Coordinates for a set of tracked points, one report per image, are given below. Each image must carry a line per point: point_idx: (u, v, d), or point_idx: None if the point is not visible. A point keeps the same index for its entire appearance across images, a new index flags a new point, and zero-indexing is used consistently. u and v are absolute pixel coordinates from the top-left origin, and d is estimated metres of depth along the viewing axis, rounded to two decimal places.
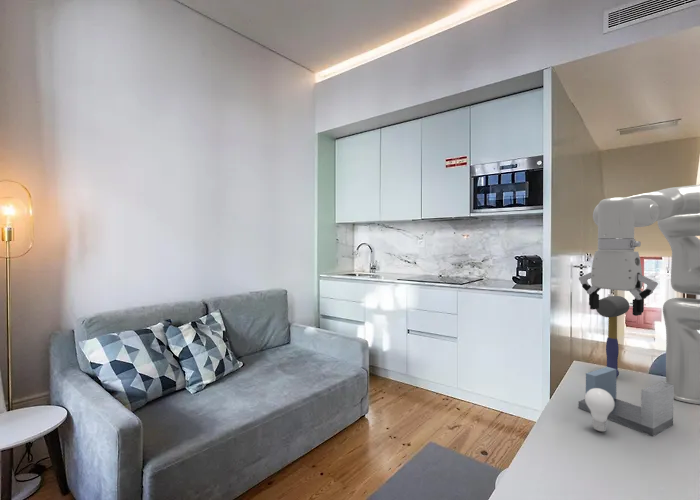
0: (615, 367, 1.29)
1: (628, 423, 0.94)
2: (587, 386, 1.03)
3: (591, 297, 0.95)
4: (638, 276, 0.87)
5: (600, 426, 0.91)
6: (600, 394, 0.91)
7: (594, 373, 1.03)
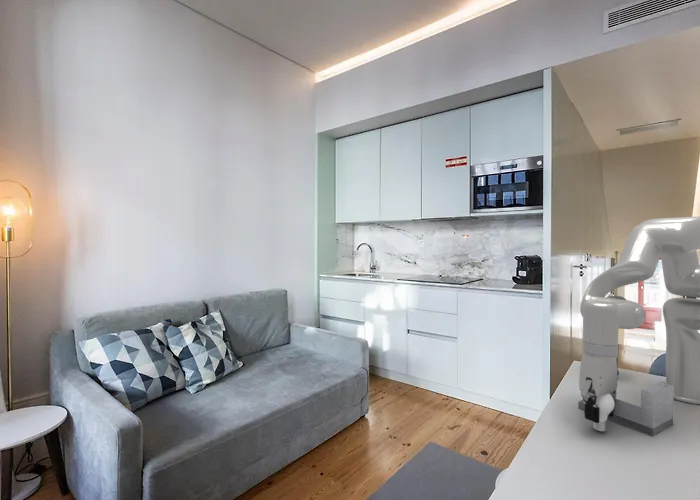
0: None
1: (628, 423, 0.94)
2: None
3: (598, 410, 0.89)
4: None
5: (600, 426, 0.91)
6: None
7: None
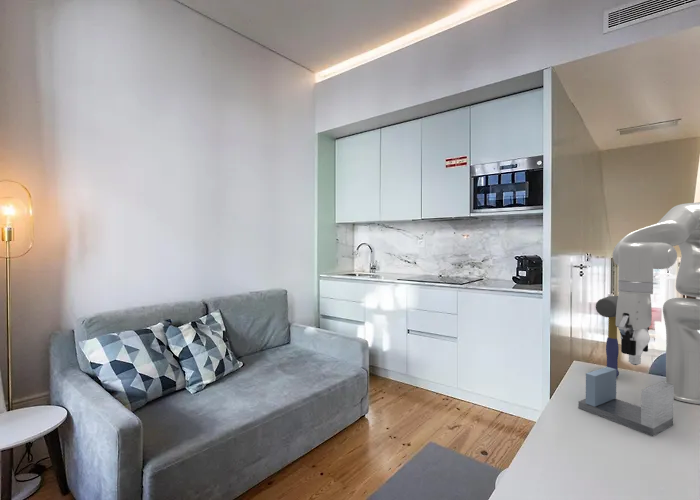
0: (615, 367, 1.29)
1: (628, 423, 0.94)
2: (587, 386, 1.03)
3: (635, 343, 0.95)
4: None
5: (636, 359, 0.97)
6: None
7: (594, 373, 1.03)
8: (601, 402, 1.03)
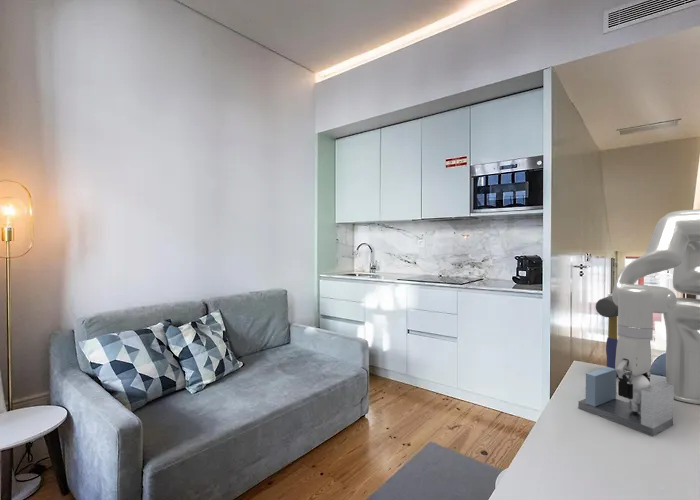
0: None
1: (628, 423, 0.94)
2: (587, 386, 1.03)
3: (632, 387, 0.95)
4: None
5: (636, 407, 0.98)
6: (637, 377, 0.97)
7: (594, 373, 1.03)
8: (601, 402, 1.03)
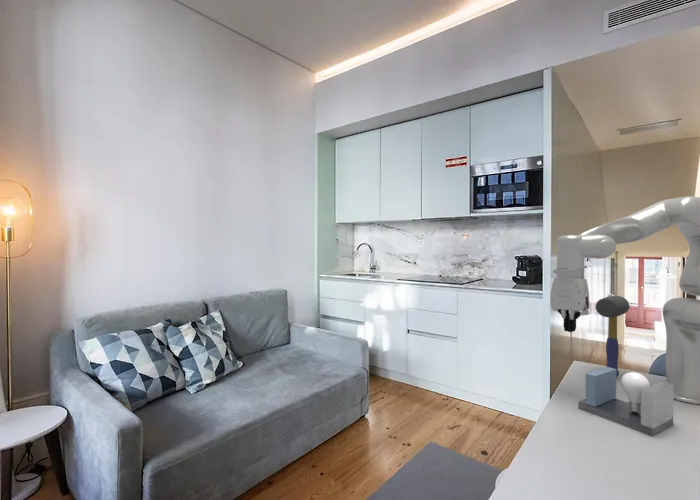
0: (615, 367, 1.29)
1: (628, 423, 0.94)
2: (587, 386, 1.03)
3: None
4: None
5: (636, 407, 0.98)
6: (636, 377, 0.97)
7: (594, 373, 1.03)
8: (601, 402, 1.03)
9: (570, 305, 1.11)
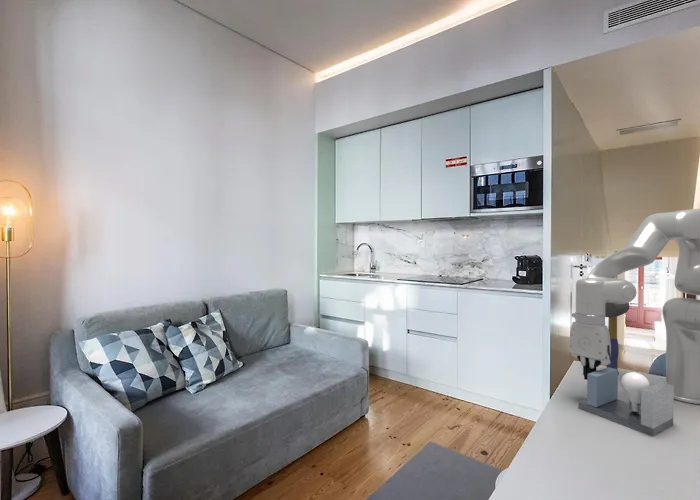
0: (615, 367, 1.29)
1: (628, 423, 0.94)
2: (588, 386, 1.03)
3: None
4: None
5: (636, 407, 0.98)
6: (636, 377, 0.97)
7: (595, 374, 1.03)
8: (603, 403, 1.03)
9: (590, 353, 1.06)
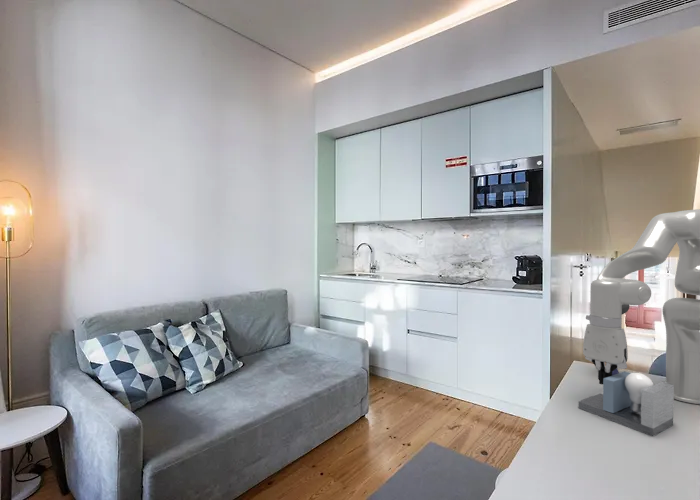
0: None
1: (628, 423, 0.94)
2: (605, 392, 0.99)
3: None
4: None
5: (637, 407, 0.98)
6: (641, 379, 0.96)
7: (612, 379, 0.99)
8: (619, 408, 0.99)
9: (606, 357, 1.02)
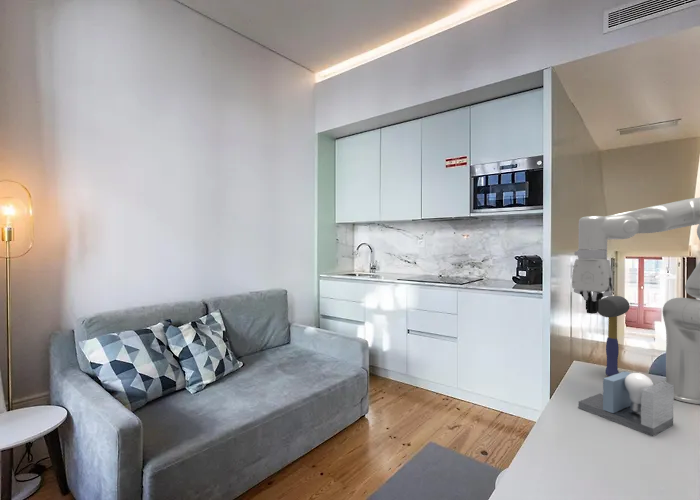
0: (615, 367, 1.29)
1: (628, 423, 0.94)
2: (605, 392, 0.99)
3: None
4: None
5: (637, 407, 0.98)
6: (641, 379, 0.96)
7: (612, 378, 0.99)
8: (619, 408, 0.99)
9: (593, 286, 1.10)
